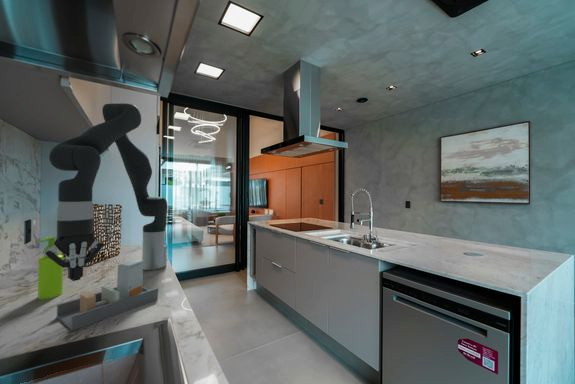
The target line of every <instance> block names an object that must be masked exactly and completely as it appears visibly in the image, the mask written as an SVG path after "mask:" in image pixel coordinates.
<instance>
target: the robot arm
mask: <svg viewBox="0 0 575 384" xmlns="http://www.w3.org/2000/svg"><path fill="white" fill-rule="evenodd" d="M101 111H102V117H103V120H104V122H101V123H98V124H96V125H93V126H91V127H90V128H88V129H87V130H86V131H84V132H83V133H82V134H80V135H79V136H77V137H73V138H70V139H68V140H65V141H62V142H60V143H58V144H56V145H55V146H54V147H52V148H51V150H50V152H49V156H48V159H49V162H50V164H51V166H53V167H54V168H55V169H57V170H60V171H64V172H65V171H67V172H74V171H75V172H77V173H76V175H74V177H73V178H70V179H63V180H61V181H60V182H59V183H58V193H57V194H58V202H57V203H58V204H57V209H56V237H57V238H56V239H55V242H54V246H53V247H51V248H50V249H48V250H45V251H44V250H43V252H42V253H43V255H44V254H45V255H46V256H47V257H49V258H50V259H51V260H53V261H54V262H55V263H57V264H58V265H59V266H61V267H63V269H64V268H67V278H68V279H69V280H70V281H72V282H76V281H79V280H81V278H83V275H84V266H85V265H86V264H88V263H91V262H92V261H93V259H94V258H95V257H96V256H97V254H99V252H100V251H101V250H102V248H103V247H104V246H105V243H103V242H100V241H98V240H96V237H95V236H94V216H95V212H94V205H93V187H94V184H95V181H96V177H97V173H98V172H99V169H100V166H101V161H102V159H101V155H102V154H104V152H106V151H107V150H108V149H109V148H110V147H111V146H112V144H113V143H115V145H116V147H117V149H118V152H119V154H120V158H121V159H122V163H123V166H124V168H125V172H126V173H127V176H128V178H129V181H130V183H131V186H132V190H133V194H134V196H135V200H136V203H137V208H138V210H139V212H140V214H141V215H142V216H143V217H153V218H154V220H153V221H152V222H150V223H147V224H144V225H143V226H142V254H141V255H142V256H141V258H142V260H141V261H143V271H154V270H155V271H156V270H160V269H163V268H164V267H166V266H167V258H168V257H167V252H168V251H167V250H168V247H167V245H166V226H167V216H168V201H167V199H166V197H162V196H161V197H159V196H157V197H156V196H150V195H149V192H148V185H149V183H150V181H151V178H152V175H153V169H152V166H151V163H150V159H149V158H148V156H147V154H146V153H145V152H144V151H143V150H142V149H141V148H139V146H137V145H136V144H135V143H134V142H133V141H132V140H131V139H130V137H129V136H128V133H130V132H132V131H133V130H135V129H138V128H139V127H140V126H141V123H142V114H141V112H140V110H139V108H138V107H137V106H136V105H134V104H132V103H122V102H121V103H105V104H104V105H103V106H102V110H101ZM57 249H58V251H57ZM89 249H90V250H89ZM88 250H89V251H88ZM59 251H60V252H61V253H62V255H63V254H64V255H65V259H66V261H64V259H63V260H62V259H61V258H59V257H58V256H57V254H58V255H59ZM87 251H88V252H87ZM86 252H87V253H86Z"/></svg>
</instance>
